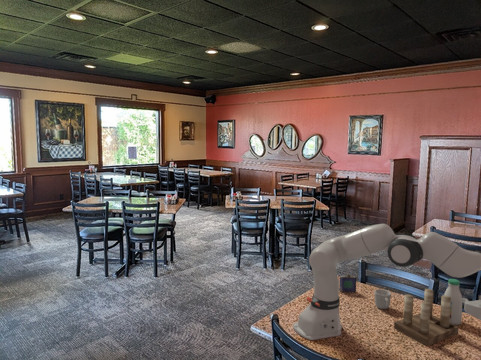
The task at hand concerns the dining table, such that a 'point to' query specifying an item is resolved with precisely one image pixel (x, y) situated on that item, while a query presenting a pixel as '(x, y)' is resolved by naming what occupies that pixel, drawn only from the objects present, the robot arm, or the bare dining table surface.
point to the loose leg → (445, 311)
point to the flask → (347, 283)
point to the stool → (423, 322)
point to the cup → (382, 298)
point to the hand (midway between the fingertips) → (471, 298)
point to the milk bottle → (454, 301)
